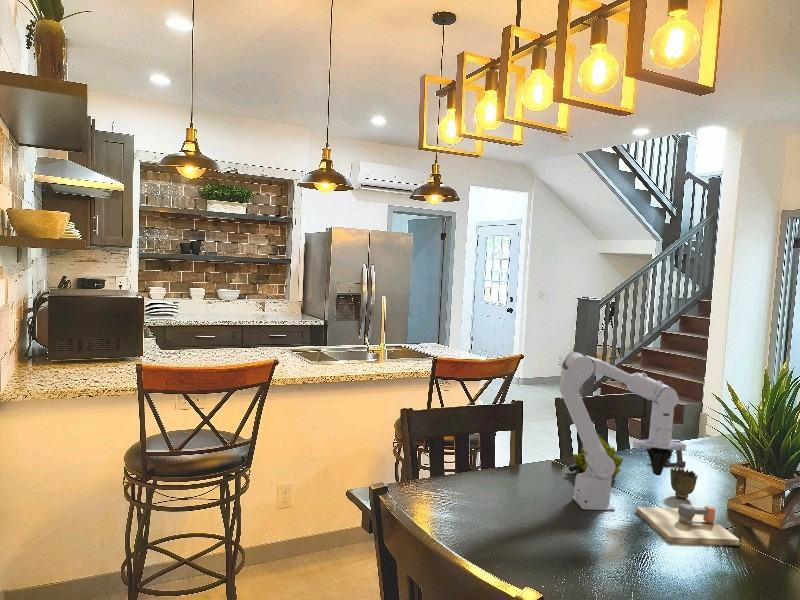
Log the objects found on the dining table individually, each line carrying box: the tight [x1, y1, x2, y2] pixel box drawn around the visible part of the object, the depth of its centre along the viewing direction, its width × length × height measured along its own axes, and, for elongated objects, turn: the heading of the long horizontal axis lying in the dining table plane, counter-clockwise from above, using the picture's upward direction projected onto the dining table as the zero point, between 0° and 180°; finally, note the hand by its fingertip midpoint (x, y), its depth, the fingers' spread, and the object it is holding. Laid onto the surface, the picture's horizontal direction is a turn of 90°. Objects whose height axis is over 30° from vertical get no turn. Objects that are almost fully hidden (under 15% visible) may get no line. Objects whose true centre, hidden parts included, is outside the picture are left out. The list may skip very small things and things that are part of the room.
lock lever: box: [677, 503, 716, 523], centre depth 153 cm, size 10×4×4 cm, turn 95°
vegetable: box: [567, 434, 624, 481], centre depth 188 cm, size 15×16×15 cm
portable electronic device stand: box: [665, 438, 686, 468], centre depth 207 cm, size 9×8×8 cm
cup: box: [669, 467, 699, 500], centre depth 174 cm, size 8×7×8 cm
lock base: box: [636, 506, 740, 546], centre depth 153 cm, size 18×18×4 cm
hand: (656, 474), depth 163 cm, fingers closed
